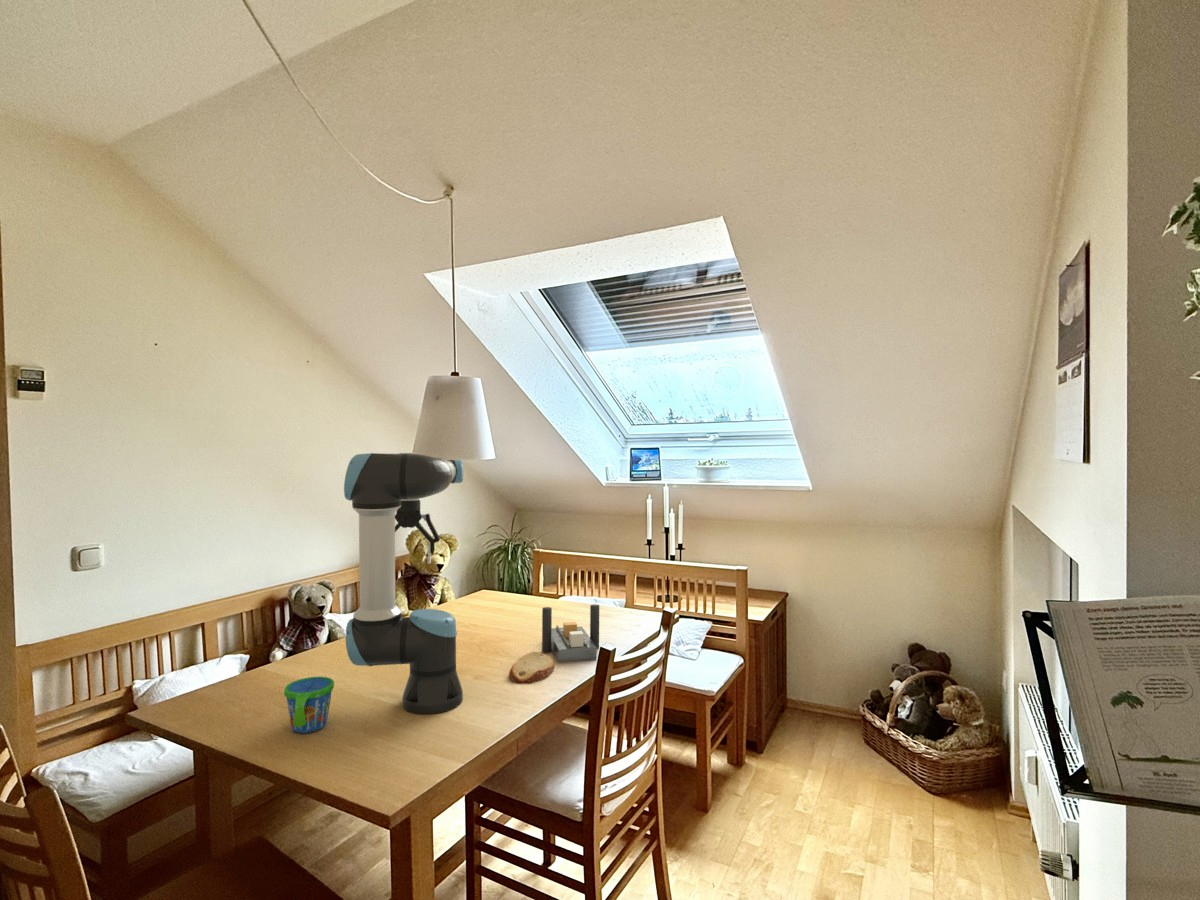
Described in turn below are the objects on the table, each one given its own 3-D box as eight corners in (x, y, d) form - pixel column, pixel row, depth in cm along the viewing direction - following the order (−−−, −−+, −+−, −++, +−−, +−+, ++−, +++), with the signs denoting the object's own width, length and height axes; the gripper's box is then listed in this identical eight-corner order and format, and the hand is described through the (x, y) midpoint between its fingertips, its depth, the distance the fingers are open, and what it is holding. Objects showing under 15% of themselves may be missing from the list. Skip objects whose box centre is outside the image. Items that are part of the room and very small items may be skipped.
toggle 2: (583, 646, 191) (583, 633, 191) (570, 647, 190) (571, 634, 190) (581, 643, 194) (581, 630, 194) (569, 644, 193) (569, 631, 193)
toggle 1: (576, 636, 201) (576, 624, 201) (564, 637, 200) (565, 625, 200) (575, 633, 204) (575, 621, 204) (563, 634, 203) (563, 622, 203)
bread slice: (541, 656, 195) (541, 644, 195) (572, 674, 180) (572, 661, 180) (490, 668, 184) (490, 655, 184) (518, 687, 170) (519, 674, 170)
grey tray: (596, 659, 191) (596, 643, 191) (558, 662, 188) (558, 646, 188) (581, 637, 213) (581, 623, 212) (547, 640, 210) (547, 625, 210)
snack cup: (300, 713, 152) (301, 672, 152) (344, 712, 152) (344, 671, 152) (270, 743, 136) (270, 698, 136) (318, 742, 137) (319, 697, 137)
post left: (552, 652, 197) (552, 609, 197) (542, 653, 197) (543, 609, 196) (550, 649, 200) (550, 606, 200) (541, 650, 200) (541, 607, 199)
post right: (600, 648, 201) (600, 606, 201) (591, 649, 201) (591, 607, 200) (597, 645, 204) (598, 604, 204) (589, 646, 203) (589, 604, 203)
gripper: (448, 498, 208) (447, 560, 208) (371, 498, 204) (371, 562, 204) (446, 500, 201) (445, 564, 201) (366, 500, 197) (366, 566, 197)
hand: (408, 563), depth 202 cm, fingers open, 13 cm apart
